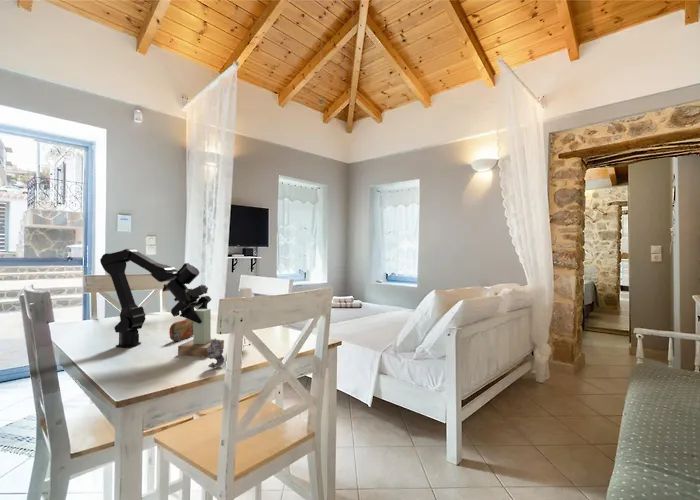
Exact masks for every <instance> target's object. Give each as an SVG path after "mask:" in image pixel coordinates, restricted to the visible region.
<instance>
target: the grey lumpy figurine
mask: <svg viewBox="0 0 700 500" xmlns="http://www.w3.org/2000/svg"><path fill="white" fill-rule="evenodd" d="M213 339H214V340H211V342H210V344H211V345H210V346H209V347H208V348H207V351H208V352H209V353H208V357H207V358H208V359H210V360H212V359H214V360H216V363H214V362H211V363H210V364H208V365H207V366H208V368H210V369H211V368H212V369H213V368H214V369H215V368H220V367H221V366H222V365H223V364H224V362H225V357H224V355H223V353H224V348H223V349H222V348H221V346H222V344H221V343H220V340H221V339H217V338H213ZM216 339H217V340H216Z"/></svg>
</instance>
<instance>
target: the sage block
mask: <svg viewBox="0 0 700 500" xmlns="http://www.w3.org/2000/svg"><path fill="white" fill-rule="evenodd" d="M194 311H195V312H196V313H197V315H198V316H199V318H200V319H201V321H202V322H201V323H200V324H199V323H197V322H194V321H193V336H192V337H193V339H192V340H193V344H206V343H208V342H210V341H211V339H212V338H211V324H212V323H211V322H212V321H211V319H212V317H211V315H212V314H211V311H212V310H211V308H207V309H198V310H197V309H194Z"/></svg>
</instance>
